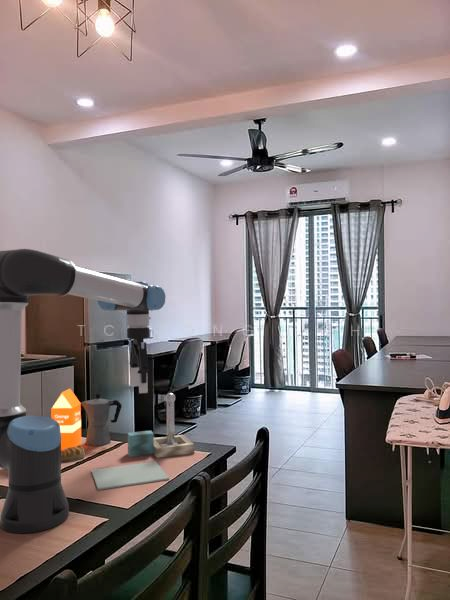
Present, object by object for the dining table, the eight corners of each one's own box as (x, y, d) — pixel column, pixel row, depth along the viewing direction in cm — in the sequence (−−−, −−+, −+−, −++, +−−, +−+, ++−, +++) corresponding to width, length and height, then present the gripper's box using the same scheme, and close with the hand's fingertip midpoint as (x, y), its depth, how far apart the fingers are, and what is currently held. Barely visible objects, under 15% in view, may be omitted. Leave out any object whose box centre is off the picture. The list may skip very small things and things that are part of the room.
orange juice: (51, 450, 170) (50, 393, 170) (61, 442, 179) (59, 388, 179) (73, 449, 170) (72, 392, 170) (82, 442, 179) (80, 388, 179)
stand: (164, 453, 165) (163, 395, 165) (160, 448, 171) (159, 392, 171) (181, 451, 167) (180, 393, 167) (176, 446, 173) (176, 390, 173)
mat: (98, 490, 133) (97, 488, 133) (91, 471, 148) (91, 469, 148) (169, 479, 140) (169, 478, 140) (155, 463, 155) (155, 461, 155)
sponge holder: (132, 460, 157) (132, 439, 158) (125, 449, 170) (125, 429, 170) (194, 453, 165) (194, 432, 165) (183, 442, 177) (183, 423, 177)
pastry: (58, 464, 155) (58, 452, 155) (51, 459, 160) (50, 448, 160) (86, 458, 161) (86, 446, 161) (78, 453, 166) (78, 442, 166)
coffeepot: (75, 446, 175) (75, 395, 175) (85, 438, 184) (84, 391, 184) (118, 446, 174) (117, 396, 174) (125, 439, 183) (124, 391, 183)
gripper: (157, 328, 155) (158, 394, 155) (141, 324, 178) (142, 382, 178) (134, 329, 152) (135, 397, 152) (120, 325, 175) (121, 384, 175)
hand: (139, 389), depth 165 cm, fingers open, 13 cm apart
